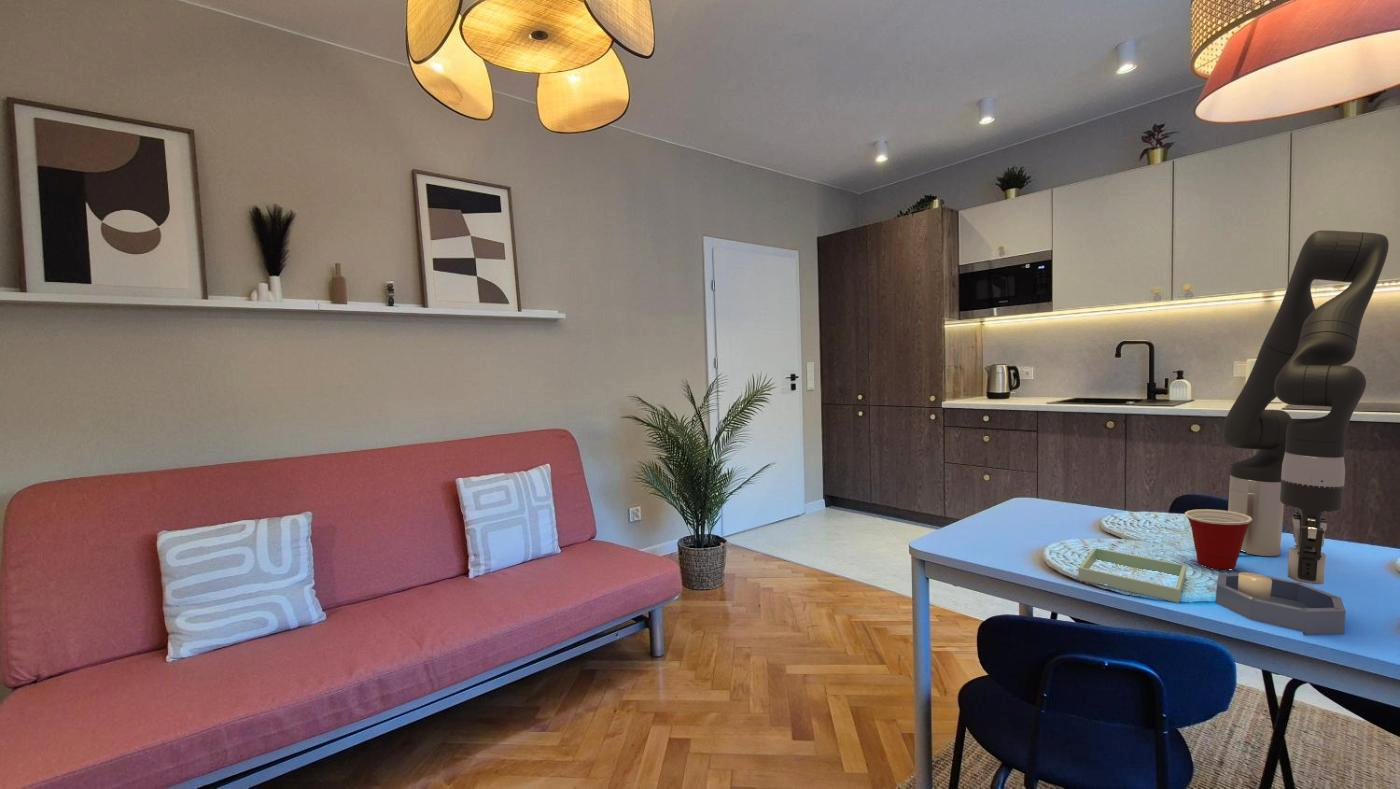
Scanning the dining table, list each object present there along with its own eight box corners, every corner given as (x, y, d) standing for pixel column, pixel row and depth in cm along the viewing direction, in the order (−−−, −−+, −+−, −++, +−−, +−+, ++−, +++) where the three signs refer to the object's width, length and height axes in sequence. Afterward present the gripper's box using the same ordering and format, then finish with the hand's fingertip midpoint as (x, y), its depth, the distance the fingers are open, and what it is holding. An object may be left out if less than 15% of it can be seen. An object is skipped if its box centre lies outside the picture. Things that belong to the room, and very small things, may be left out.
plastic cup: (1175, 555, 132) (1178, 504, 131) (1236, 563, 127) (1240, 510, 126) (1190, 572, 122) (1193, 517, 121) (1257, 581, 117) (1261, 524, 116)
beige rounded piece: (1286, 572, 104) (1288, 545, 104) (1322, 579, 101) (1324, 551, 100) (1288, 579, 101) (1290, 552, 100) (1325, 586, 98) (1327, 558, 97)
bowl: (1218, 586, 115) (1219, 566, 115) (1336, 610, 104) (1338, 589, 104) (1214, 613, 104) (1215, 592, 103) (1347, 644, 93) (1349, 620, 92)
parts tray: (1093, 560, 130) (1093, 547, 129) (1185, 579, 119) (1186, 565, 118) (1077, 581, 118) (1078, 567, 118) (1178, 605, 107) (1179, 589, 107)
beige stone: (1237, 595, 109) (1239, 570, 108) (1270, 603, 106) (1272, 577, 105) (1235, 603, 106) (1237, 577, 105) (1269, 611, 103) (1271, 584, 102)
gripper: (1350, 491, 92) (1342, 594, 93) (1339, 476, 102) (1332, 569, 103) (1283, 483, 97) (1276, 582, 98) (1279, 470, 107) (1273, 559, 109)
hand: (1305, 575), depth 101 cm, fingers closed on beige rounded piece, 4 cm apart
